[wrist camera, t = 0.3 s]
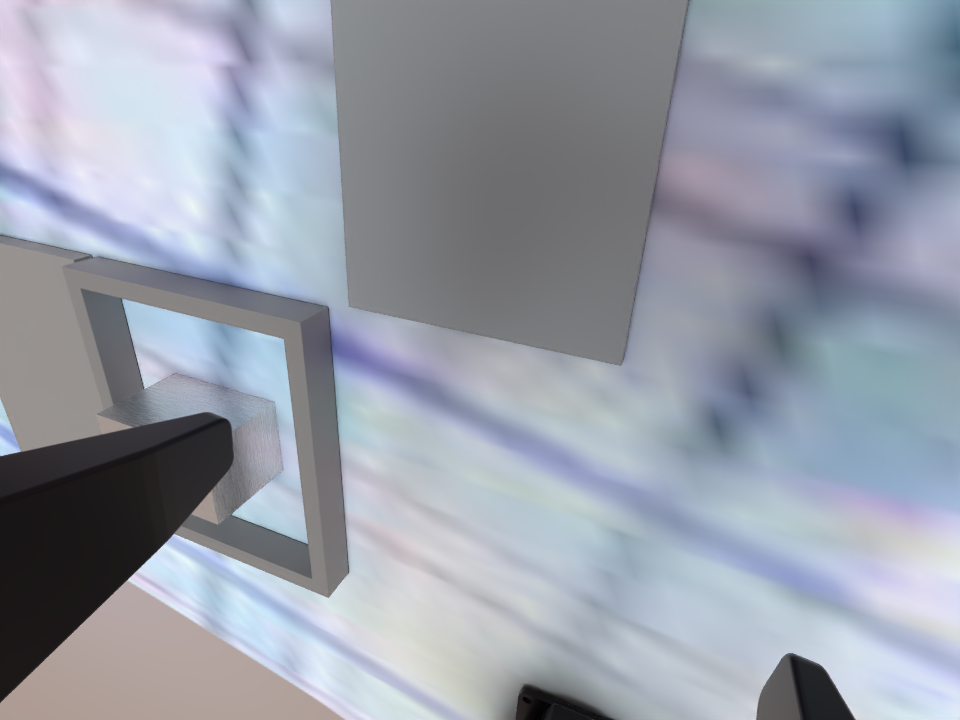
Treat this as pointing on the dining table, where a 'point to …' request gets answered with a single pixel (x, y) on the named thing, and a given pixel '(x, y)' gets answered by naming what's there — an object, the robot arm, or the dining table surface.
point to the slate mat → (503, 161)
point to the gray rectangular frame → (115, 376)
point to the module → (245, 412)
